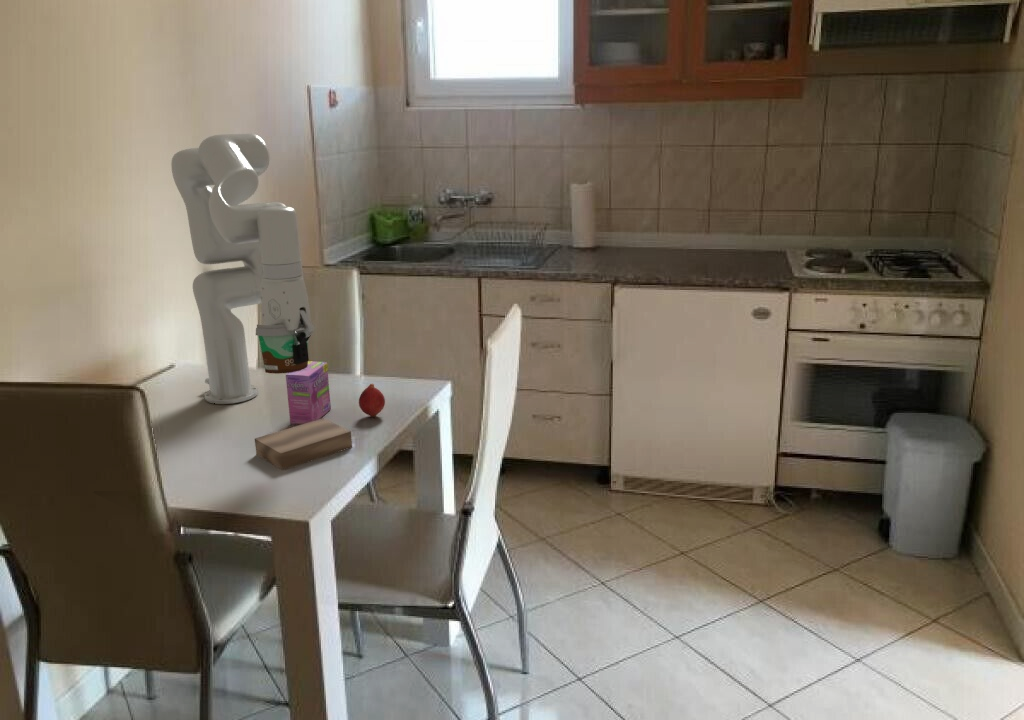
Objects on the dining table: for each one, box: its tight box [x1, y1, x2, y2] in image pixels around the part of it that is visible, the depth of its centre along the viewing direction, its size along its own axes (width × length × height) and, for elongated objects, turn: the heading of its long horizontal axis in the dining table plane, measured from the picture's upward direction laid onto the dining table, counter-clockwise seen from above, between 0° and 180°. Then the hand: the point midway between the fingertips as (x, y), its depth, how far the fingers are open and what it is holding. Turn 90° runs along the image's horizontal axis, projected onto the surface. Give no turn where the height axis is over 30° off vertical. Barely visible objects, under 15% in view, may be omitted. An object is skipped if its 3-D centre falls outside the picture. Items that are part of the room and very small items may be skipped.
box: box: [285, 360, 332, 425], centre depth 193 cm, size 10×6×12 cm, turn 168°
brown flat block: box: [254, 417, 353, 471], centre depth 175 cm, size 11×16×4 cm
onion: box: [358, 383, 386, 418], centre depth 193 cm, size 6×6×8 cm
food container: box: [255, 324, 309, 375], centre depth 169 cm, size 12×6×10 cm, turn 147°
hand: (291, 359), depth 170 cm, fingers closed on food container, 5 cm apart
